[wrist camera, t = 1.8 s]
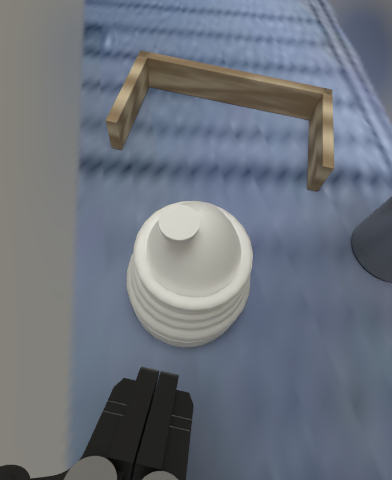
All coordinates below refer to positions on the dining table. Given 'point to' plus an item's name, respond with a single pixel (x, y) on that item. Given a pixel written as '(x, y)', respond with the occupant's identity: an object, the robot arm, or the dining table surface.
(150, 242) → the honey pot
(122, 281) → the dining table surface
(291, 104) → the oak bay
